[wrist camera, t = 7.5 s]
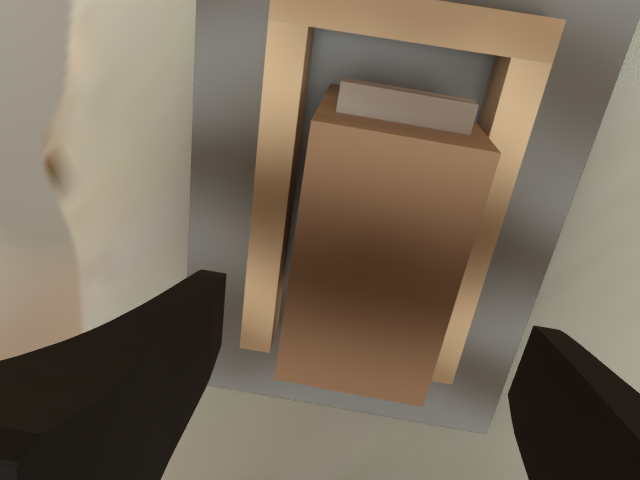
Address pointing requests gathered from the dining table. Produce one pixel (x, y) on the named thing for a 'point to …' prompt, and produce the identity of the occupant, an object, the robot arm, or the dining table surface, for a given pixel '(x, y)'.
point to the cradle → (413, 73)
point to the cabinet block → (382, 238)
